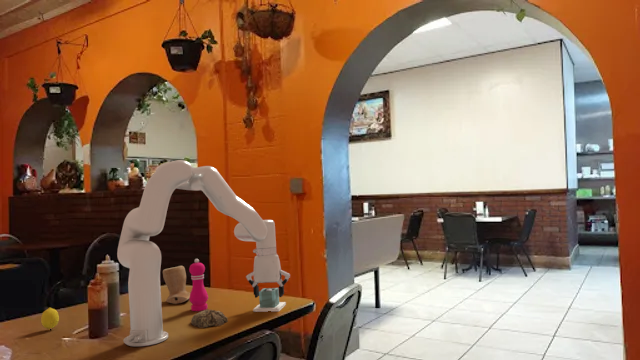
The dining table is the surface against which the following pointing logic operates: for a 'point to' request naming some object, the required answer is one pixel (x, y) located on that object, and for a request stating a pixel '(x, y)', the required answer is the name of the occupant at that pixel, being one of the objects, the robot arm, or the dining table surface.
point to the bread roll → (208, 318)
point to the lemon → (49, 318)
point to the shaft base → (277, 308)
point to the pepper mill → (198, 287)
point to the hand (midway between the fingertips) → (269, 296)
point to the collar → (269, 297)
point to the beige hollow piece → (176, 284)
